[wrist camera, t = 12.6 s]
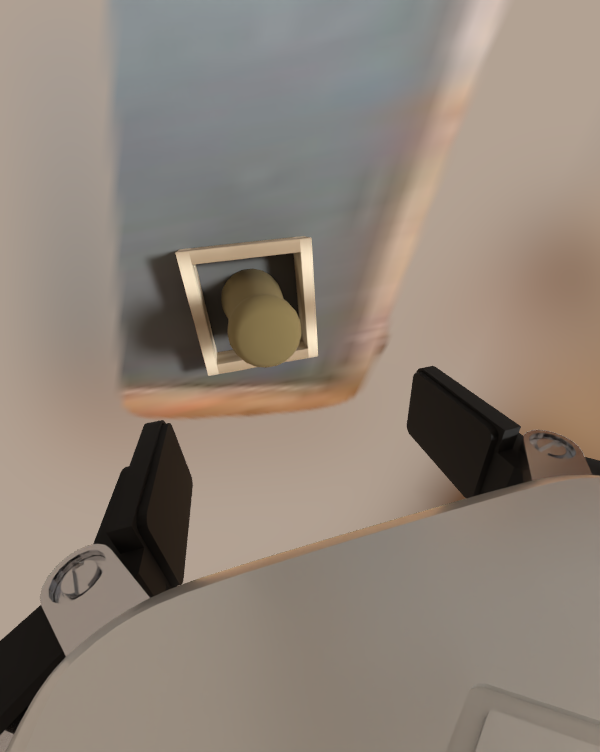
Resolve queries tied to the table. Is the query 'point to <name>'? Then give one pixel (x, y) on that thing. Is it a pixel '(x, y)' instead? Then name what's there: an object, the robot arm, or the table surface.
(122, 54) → the table surface
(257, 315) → the cork
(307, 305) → the beige square frame
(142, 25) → the table surface
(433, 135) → the table surface
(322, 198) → the table surface
